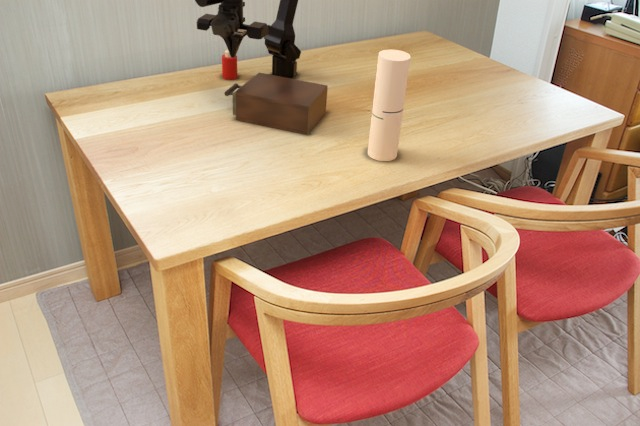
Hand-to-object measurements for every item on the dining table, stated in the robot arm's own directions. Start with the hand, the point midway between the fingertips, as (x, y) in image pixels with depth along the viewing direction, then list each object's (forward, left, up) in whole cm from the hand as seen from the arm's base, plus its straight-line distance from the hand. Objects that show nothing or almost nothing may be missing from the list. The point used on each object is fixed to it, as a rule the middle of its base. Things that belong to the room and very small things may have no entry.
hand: (233, 57), depth 179 cm
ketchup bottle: (-6, +10, -10) cm, 15 cm away
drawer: (+14, -8, -9) cm, 19 cm away
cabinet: (+18, -8, -10) cm, 22 cm away
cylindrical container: (+48, -17, -11) cm, 52 cm away
